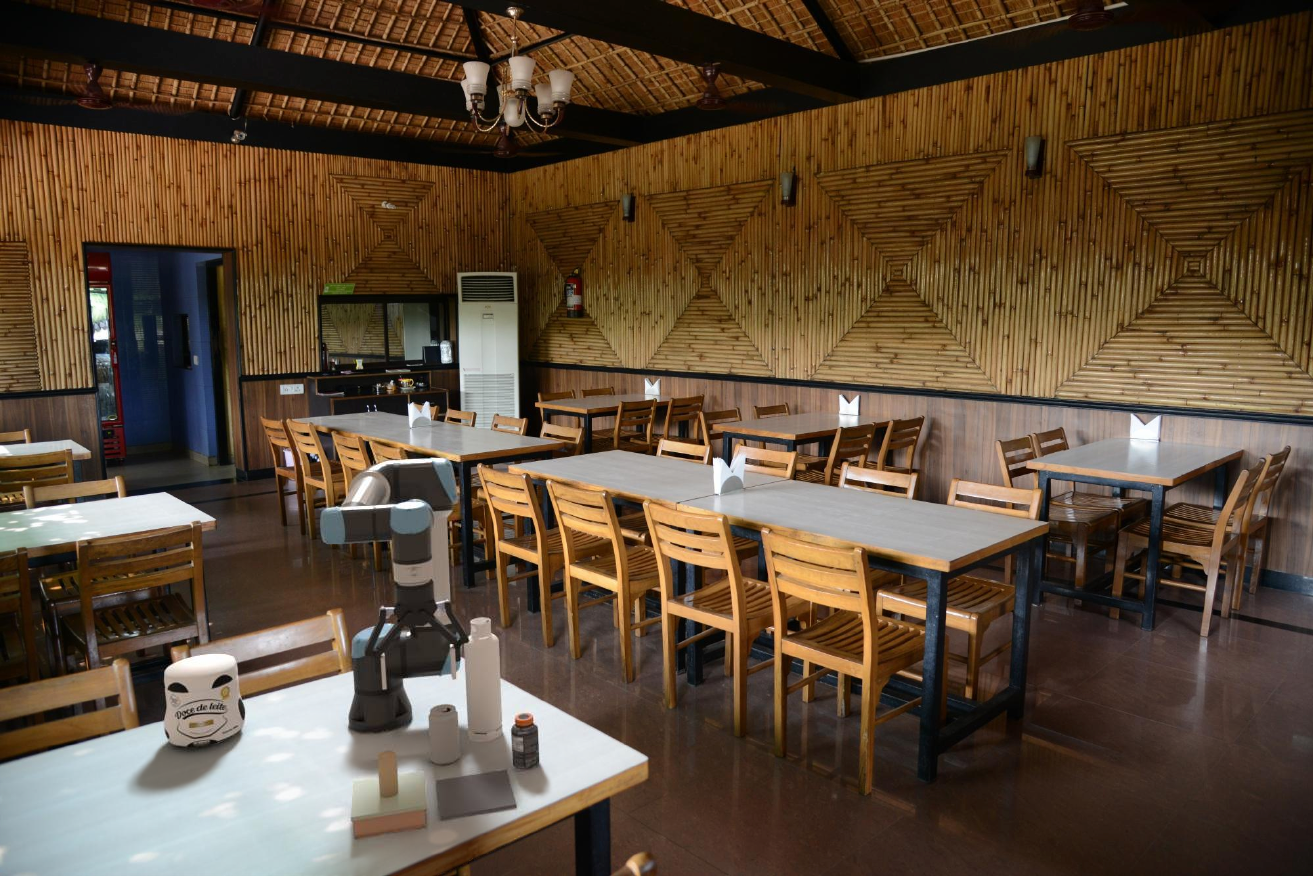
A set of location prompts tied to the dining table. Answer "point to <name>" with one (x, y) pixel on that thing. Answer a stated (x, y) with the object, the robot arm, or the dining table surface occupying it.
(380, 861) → the dining table surface
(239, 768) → the dining table surface
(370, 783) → the lid
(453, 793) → the mat
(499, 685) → the bottle
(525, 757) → the pill bottle
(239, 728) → the doce de leite tub
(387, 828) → the dish
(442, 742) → the beverage can
